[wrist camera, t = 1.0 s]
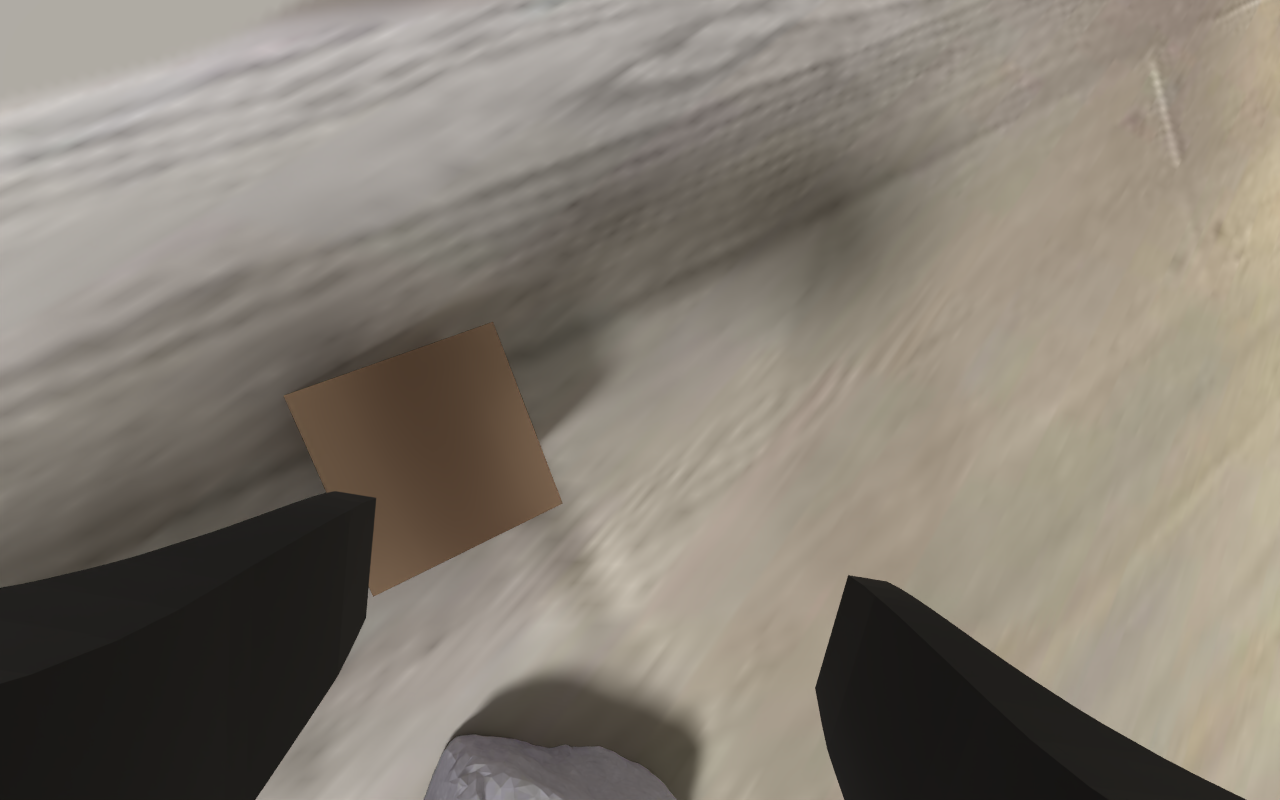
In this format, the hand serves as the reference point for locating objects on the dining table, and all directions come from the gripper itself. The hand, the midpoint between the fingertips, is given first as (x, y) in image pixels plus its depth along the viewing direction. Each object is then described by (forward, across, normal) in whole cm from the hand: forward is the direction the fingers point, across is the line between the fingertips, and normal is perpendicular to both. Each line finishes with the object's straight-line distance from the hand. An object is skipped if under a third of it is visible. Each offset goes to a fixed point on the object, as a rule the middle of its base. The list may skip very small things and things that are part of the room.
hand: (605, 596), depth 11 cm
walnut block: (+12, +7, +3) cm, 14 cm away
